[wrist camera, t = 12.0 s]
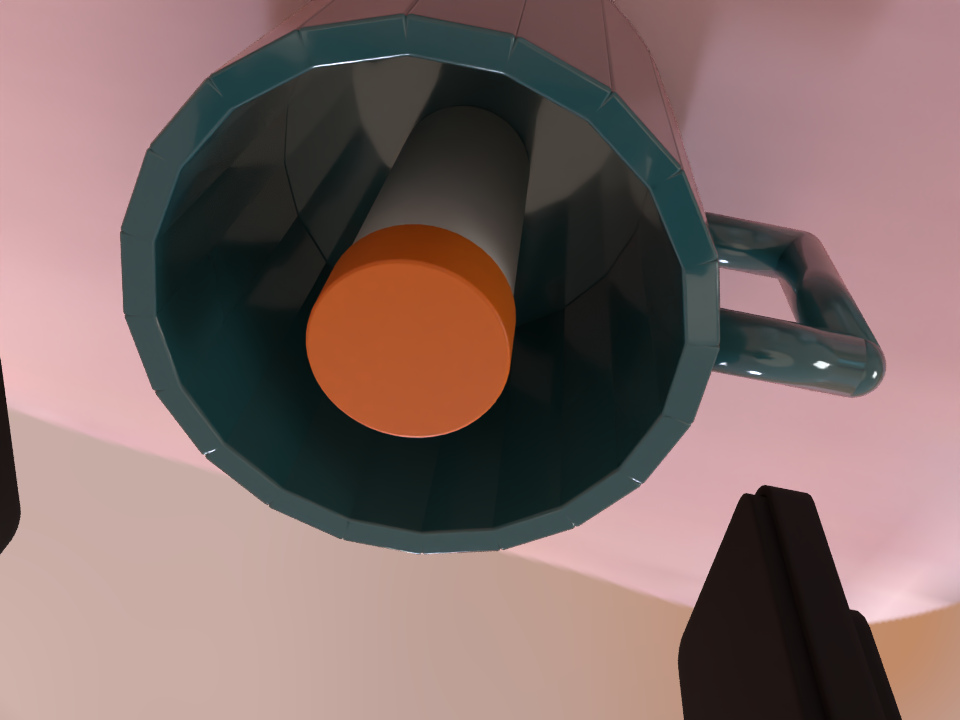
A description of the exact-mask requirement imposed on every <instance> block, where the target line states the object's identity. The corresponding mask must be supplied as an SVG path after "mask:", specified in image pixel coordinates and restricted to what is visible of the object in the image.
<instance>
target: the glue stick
mask: <svg viewBox="0 0 960 720" xmlns="http://www.w3.org/2000/svg"><path fill="white" fill-rule="evenodd" d="M528 182H529V160H528V156H527V152H526V149H525V147H524V144H523V142H522V141H521V139H520V137H519V135H518V134H517V133H516V132H515V130H514V129H513V128H512V127H511V126H510V125H509V124H508V123H507V122H506V121H504V120H503V119H502V118H500V117H499V116H497V115H495V114H494V113H492V112H489V111H487V110H484V109H481V108H477V107H471V106H454V107H448V108H444V109H441V110H438V111H436V112H434V113H432V114H430V115H429V116H427V117H425V118H424V119H423V120H422V121H420V122H419V123H418V124H417V125H416V127H415V128H414V129H413V130H412V132H411V133H410V134H409V136H408V138H407V140H406V142H405V144H404V146H403V148H402V150H401V152H400V153H399V155H398V157H397V159H396V161H395V163H394V165H393V167H392V169H391V171H390V173H389V175H388V177H387V179H386V181H385V182H384V184H383V186H382V188H381V190H380V192H379V194H378V196H377V198H376V200H375V202H374V204H373V206H372V208H371V210H370V211H369V213H368V215H367V217H366V219H365V221H364V223H363V225H362V227H361V229H360V231H359V233H358V235H357V237H356V239H355V240H354V242H353V244H352V246H350V247H349V248H348V249H347V250H346V252H345V253H344V254H343V255H342V256H341V257H340V259H339V260H338V262H337V263H336V264H335V266H334V268H333V270H332V272H331V274H330V276H329V278H328V279H327V281H326V283H325V285H324V287H323V289H322V291H321V293H320V294H319V296H318V298H317V300H316V302H315V304H314V306H313V308H312V310H311V313H310V316H309V319H308V323H307V329H306V349H307V356H308V359H309V363H310V366H311V369H312V372H313V374H314V376H315V378H316V380H317V382H318V384H319V385H320V387H321V389H322V390H323V391H324V393H325V394H326V395H327V396H328V398H329V399H330V400H331V401H332V402H333V403H334V404H335V405H336V406H337V407H338V408H339V409H340V410H342V411H343V412H344V413H345V414H347V415H348V416H349V417H351V418H353V419H354V420H356V421H357V422H359V423H361V424H363V425H365V426H367V427H369V428H371V429H374V430H377V431H380V432H382V433H386V434H390V435H394V436H401V437H410V438H424V437H434V436H439V435H445V434H448V433H451V432H454V431H457V430H459V429H461V428H463V427H466V426H468V425H469V424H471V423H472V422H474V421H476V420H477V419H478V418H480V417H481V416H482V415H483V414H484V413H486V412H487V411H488V410H489V409H490V408H491V406H492V405H493V404H494V403H495V402H496V400H497V399H498V397H499V396H500V394H501V393H502V391H503V389H504V386H505V384H506V382H507V378H508V375H509V371H510V364H511V356H512V348H513V340H514V332H515V324H516V309H515V302H514V297H513V295H514V288H515V280H516V273H517V265H518V258H519V250H520V242H521V235H522V227H523V220H524V212H525V205H526V197H527V190H528Z"/></svg>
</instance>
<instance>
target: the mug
mask: <svg viewBox="0 0 960 720" xmlns="http://www.w3.org/2000/svg"><path fill="white" fill-rule="evenodd" d="M454 106H471V107H477V108H481V109H484V110H487V111H489V112H492V113H494V114H495V115H497V116H499V117H500V118H502V119H503V120H504V121H506V122H507V123H508V124H509V125H510V126H511V127H512V128H513V129H514V130H515V132H516V133H517V134H518V135H519V137H520V139H521V141H522V142H523V144H524V147H525V149H526V152H527V156H528V160H529V182H528V190H527V197H526V205H525V212H524V220H523V227H522V235H521V242H520V250H519V258H518V265H517V273H516V280H515V288H514V295H513V297H514V302H515V309H516V324H515V332H514V340H513V348H512V356H511V364H510V371H509V375H508V378H507V382H506V384H505V386H504V389H503V391H502V393H501V394H500V396H499V397H498V399H497V400H496V402H495V403H494V404H493V405H492V406H491V408H490V409H489V410H488V411H487V412H486V413H484V414H483V415H482V416H481V417H480V418H478V419H477V420H476V421H474V422H472V423H471V424H469V425H468V426H466V427H463V428H461V429H459V430H457V431H454V432H451V433H448V434H445V435H439V436H434V437H424V438H410V437H401V436H394V435H390V434H386V433H382V432H380V431H377V430H374V429H371V428H369V427H367V426H365V425H363V424H361V423H359V422H357V421H356V420H354V419H353V418H351V417H349V416H348V415H347V414H345V413H344V412H343V411H342V410H340V409H339V408H338V407H337V406H336V405H335V404H334V403H333V402H332V401H331V400H330V399H329V398H328V396H327V395H326V394H325V393H324V391H323V390H322V389H321V387H320V385H319V384H318V382H317V380H316V378H315V376H314V374H313V372H312V369H311V366H310V363H309V359H308V356H307V349H306V329H307V323H308V319H309V316H310V313H311V310H312V308H313V306H314V304H315V302H316V300H317V298H318V296H319V294H320V293H321V291H322V289H323V287H324V285H325V283H326V281H327V279H328V278H329V276H330V274H331V272H332V270H333V268H334V266H335V264H336V263H337V262H338V260H339V259H340V257H341V256H342V255H343V254H344V253H345V252H346V250H347V249H348V248H349V247H350V246H352V244H353V242H354V240H355V239H356V237H357V235H358V233H359V231H360V229H361V227H362V225H363V223H364V221H365V219H366V217H367V215H368V213H369V211H370V210H371V208H372V206H373V204H374V202H375V200H376V198H377V196H378V194H379V192H380V190H381V188H382V186H383V184H384V182H385V181H386V179H387V177H388V175H389V173H390V171H391V169H392V167H393V165H394V163H395V161H396V159H397V157H398V155H399V153H400V152H401V150H402V148H403V146H404V144H405V142H406V140H407V138H408V136H409V134H410V133H411V132H412V130H413V129H414V128H415V127H416V125H417V124H418V123H419V122H420V121H422V120H423V119H424V118H425V117H427V116H429V115H430V114H432V113H434V112H436V111H438V110H441V109H444V108H448V107H454ZM120 241H121V265H122V289H123V312H124V314H125V319H126V321H127V324H128V327H129V329H130V332H131V334H132V337H133V340H134V342H135V345H136V347H137V350H138V353H139V355H140V358H141V360H142V363H143V366H144V368H145V371H146V373H147V376H148V379H149V381H150V384H151V386H152V389H153V390H155V393H156V395H157V396H158V397H159V399H160V400H161V401H162V403H163V404H164V405H165V407H166V408H167V409H168V410H169V412H170V413H171V414H172V416H173V417H174V418H175V420H176V421H177V422H178V423H179V425H180V426H181V427H182V429H183V430H184V431H185V433H186V434H187V435H188V437H189V438H190V439H191V440H192V442H193V443H194V444H195V446H196V447H197V448H198V450H199V451H200V452H201V453H202V454H203V455H205V457H206V458H207V459H208V460H209V461H210V462H212V463H213V464H214V465H216V466H217V467H218V468H219V469H221V470H222V471H223V472H225V473H226V474H227V475H228V476H230V477H231V478H232V479H234V480H235V481H236V482H238V483H239V484H240V485H241V486H243V487H244V488H245V489H247V490H248V491H249V492H250V493H252V494H253V495H254V496H256V497H257V498H258V499H260V500H261V501H262V502H263V503H265V504H267V505H269V507H270V508H272V509H274V510H276V511H279V512H281V513H283V514H285V515H288V516H290V517H292V518H294V519H297V520H299V521H301V522H303V523H305V524H308V525H310V526H312V527H315V528H317V529H319V530H321V531H323V532H326V533H328V534H330V535H332V536H335V537H337V538H339V539H342V538H343V539H344V540H346V541H351V542H356V543H362V544H367V545H372V546H377V547H382V548H388V549H394V550H398V551H404V552H409V553H414V554H421V553H423V554H443V553H464V552H484V551H485V552H486V551H499V550H500V548H501V549H502V550H505V549H508V548H512V547H515V546H518V545H521V544H525V543H528V542H531V541H534V540H538V539H541V538H544V537H547V536H551V535H554V534H557V533H560V532H564V531H567V530H570V529H573V528H574V527H575V526H580V525H581V524H583V523H584V522H586V521H587V520H589V519H590V518H592V517H594V516H595V515H597V514H598V513H600V512H601V511H603V510H604V509H606V508H607V507H609V506H610V505H612V504H614V503H615V502H617V501H618V500H620V499H621V498H623V497H624V496H626V495H627V494H629V493H631V492H632V491H634V490H635V489H637V488H638V487H639V486H640V485H641V484H643V483H644V482H645V481H646V480H647V479H648V477H649V476H650V475H651V474H652V473H653V471H654V470H655V469H656V468H657V466H658V465H659V464H660V463H661V462H662V460H663V459H664V458H665V457H666V455H667V454H668V453H669V452H670V451H671V449H672V448H673V447H674V446H675V444H676V443H677V442H678V441H679V440H680V438H681V437H682V436H683V435H684V433H685V432H686V431H687V430H688V429H689V427H690V426H691V423H693V421H694V419H695V416H696V414H697V411H698V408H699V405H700V402H701V400H702V397H703V394H704V391H705V388H706V386H707V383H708V380H709V377H710V375H711V372H712V371H713V372H718V373H723V374H728V375H733V376H739V377H744V378H749V379H754V380H759V381H764V382H770V383H775V384H780V385H785V386H790V387H795V388H801V389H806V390H811V391H816V392H821V393H827V394H832V395H837V396H842V397H849V398H855V397H861V396H864V395H867V394H869V393H871V392H872V391H874V390H875V389H876V388H877V387H878V386H879V385H880V383H881V382H882V380H883V378H884V376H885V372H886V360H885V356H884V354H883V352H882V350H881V348H880V346H879V344H878V343H877V341H876V339H875V337H874V335H873V334H872V332H871V330H870V328H869V326H868V325H867V323H866V321H865V319H864V318H863V316H862V314H861V312H860V310H859V309H858V307H857V305H856V303H855V301H854V300H853V298H852V296H851V294H850V293H849V291H848V289H847V287H846V285H845V284H844V282H843V280H842V278H841V276H840V275H839V273H838V271H837V269H836V268H835V266H834V264H833V262H832V260H831V259H830V257H829V255H828V253H827V251H826V250H825V248H824V246H823V244H822V243H821V241H820V240H819V239H818V238H817V237H816V236H815V235H813V234H811V233H809V232H806V231H802V230H796V229H791V228H786V227H781V226H776V225H771V224H766V223H760V222H755V221H750V220H745V219H740V218H735V217H730V216H724V215H719V214H714V213H709V212H704V208H703V205H702V202H701V199H700V196H699V192H698V189H697V186H696V183H695V180H694V176H693V173H692V170H691V167H690V164H689V160H688V157H687V154H686V151H685V148H684V145H683V141H682V138H681V135H680V132H679V129H678V125H677V122H676V119H675V116H674V113H673V110H672V107H671V105H670V102H669V99H668V97H667V94H666V92H665V89H664V87H663V84H662V81H661V79H660V76H659V73H658V70H657V67H656V65H655V63H654V61H653V58H652V56H651V53H650V51H649V50H648V49H647V46H646V45H645V43H644V42H643V40H642V39H641V37H640V36H639V35H638V33H637V32H636V30H635V29H634V27H633V26H632V25H631V23H630V22H629V20H628V19H627V18H626V17H625V16H624V14H623V13H622V12H621V11H620V10H619V9H618V8H617V7H616V6H615V5H614V4H613V3H612V1H611V0H312V1H311V2H310V3H308V4H307V5H306V6H304V7H303V8H301V9H300V10H299V11H297V12H296V13H295V14H293V15H292V16H290V17H289V18H288V19H286V20H285V21H283V22H282V23H281V24H279V25H278V26H277V27H275V28H274V29H272V30H271V31H270V32H268V33H267V34H266V35H264V36H263V37H261V38H260V39H259V40H257V41H256V42H254V43H253V44H252V45H250V46H249V47H248V48H246V49H245V50H243V51H242V52H241V53H239V54H238V55H237V56H235V57H234V58H232V59H231V60H230V61H228V62H227V63H225V64H224V65H223V66H221V67H220V68H219V69H217V70H216V71H214V72H213V73H212V74H211V75H210V76H209V77H207V78H206V79H205V80H204V81H203V82H202V83H201V85H200V86H199V87H198V88H197V89H196V90H195V92H194V93H193V94H192V95H191V96H190V98H189V99H188V100H187V101H186V102H185V103H184V105H183V106H182V107H181V108H180V109H179V111H178V112H177V113H176V114H175V115H174V116H173V118H172V119H171V120H170V121H169V122H168V124H167V125H166V126H165V127H164V128H163V129H162V131H161V132H160V133H159V134H158V135H157V137H156V138H155V139H154V140H153V141H152V142H151V144H150V147H149V148H148V149H147V150H146V153H145V156H144V159H143V162H142V165H141V168H140V171H139V174H138V178H137V181H136V184H135V187H134V190H133V193H132V196H131V199H130V202H129V205H128V208H127V211H126V214H125V217H124V220H123V223H122V226H121V232H120ZM719 268H725V269H730V270H735V271H740V272H745V273H750V274H756V275H761V276H766V277H771V278H776V279H778V280H779V282H780V285H781V287H782V289H783V292H784V294H785V296H786V299H787V301H788V304H789V306H790V308H791V311H792V313H793V315H794V318H795V320H796V322H797V323H796V322H791V321H785V320H780V319H775V318H770V317H765V316H760V315H754V314H749V313H744V312H739V311H734V310H729V309H724V308H720V281H719Z"/></svg>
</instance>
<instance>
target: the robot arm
mask: <svg viewBox="0 0 960 720" xmlns="http://www.w3.org/2000/svg"><path fill="white" fill-rule="evenodd" d="M20 515H21V511H20V501H19V494H18V487H17V479H16V471H15V464H14V457H13V449H12V441H11V434H10V426H9V418H8V411H7V403H6V396H5V388H4V381H3V373H2V365H1V359H0V554H1V553H2V551H3V550H4V549H5V548H6V546H7V545H8V544H9V542H10V541H11V540H12V538H13V536H14V535H15V533H16V530H17V528H18V525H19V520H20ZM678 669H679V679H680V687H681V697H682V706H683V714H684V720H902V719H901V716H900V713H899V710H898V707H897V704H896V701H895V698H894V695H893V693H892V690H891V687H890V684H889V681H888V678H887V675H886V672H885V670H884V667H883V664H882V661H881V658H880V655H879V652H878V649H877V647H876V644H875V641H874V638H873V635H872V632H871V630H870V627H869V625H868V623H867V621H866V619H865V617H864V616H863V615H862V614H861V613H860V612H858V611H855V610H850V609H849V606H848V603H847V600H846V597H845V594H844V591H843V588H842V585H841V582H840V579H839V576H838V573H837V570H836V567H835V564H834V561H833V558H832V555H831V552H830V549H829V546H828V543H827V540H826V537H825V534H824V531H823V527H822V524H821V521H820V518H819V515H818V512H817V509H816V506H815V503H814V501H813V499H812V497H811V495H809V494H808V493H804V492H799V491H793V490H788V489H783V488H778V487H773V486H767V485H763V486H761V487H760V488H759V489H758V490H757V492H756V494H755V495H753V494H748V493H746V494H743V495H742V497H741V498H740V500H739V502H738V504H737V507H736V509H735V511H734V514H733V516H732V519H731V521H730V523H729V526H728V528H727V531H726V533H725V535H724V538H723V540H722V543H721V545H720V547H719V550H718V552H717V555H716V557H715V559H714V562H713V564H712V566H711V569H710V571H709V574H708V576H707V578H706V581H705V583H704V586H703V588H702V590H701V593H700V595H699V598H698V600H697V602H696V605H695V607H694V610H693V612H692V614H691V617H690V619H689V622H688V624H687V626H686V629H685V631H684V633H683V636H682V639H681V643H680V647H679V655H678Z"/></svg>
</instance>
